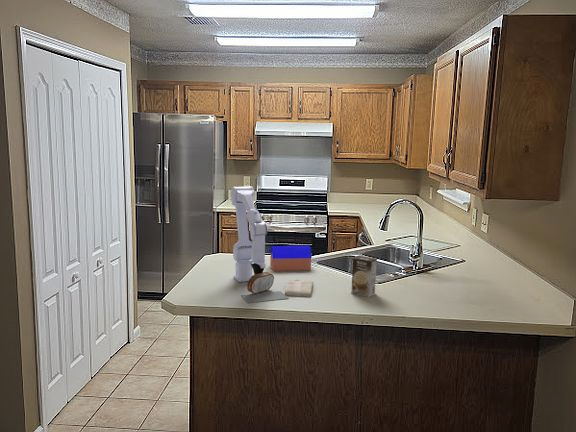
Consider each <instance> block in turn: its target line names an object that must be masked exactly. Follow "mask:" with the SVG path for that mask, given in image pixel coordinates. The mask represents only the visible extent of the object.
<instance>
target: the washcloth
mask: <svg viewBox="0 0 576 432" xmlns="http://www.w3.org/2000/svg"><path fill="white" fill-rule="evenodd" d="M313 286H314V281H312V280H301V279H288V280H287V282H286V284H285V288H284V295H286V296H287V297H289V296H290V297H294V296H296V297H307V298H309V297H312V292H313Z"/></svg>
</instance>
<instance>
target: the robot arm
mask: <svg viewBox="0 0 576 432" xmlns="http://www.w3.org/2000/svg"><path fill="white" fill-rule="evenodd" d="M254 197H255V189H254V187H253V186H232V188H231V189H230V198H231V199H230V201H231V205H232V206H234V208H235V213H236V214H235V216H236V226H237V236H238V237H237V238H238V240H237V242H236V243H235V244H233V246H232V248H233V250H232V257H233V259H234V261H235V275H233V278H234V279H235V280H236V281H237V282H238V283H242V282H248V281H249V279H250V278H251V277H252V276H253V275H255V274H259V273H263V272H264V271H265V269H266V257H265V256H266V253H265V252H266V236H267V234H268V225H267V222H265V221H264V220H263V219H262V216H261V214H260V211H259V210H257V209H256V207H255V204H254ZM248 223H249V227H248ZM249 233H250V235H249ZM249 236H250V238H249Z"/></svg>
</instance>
